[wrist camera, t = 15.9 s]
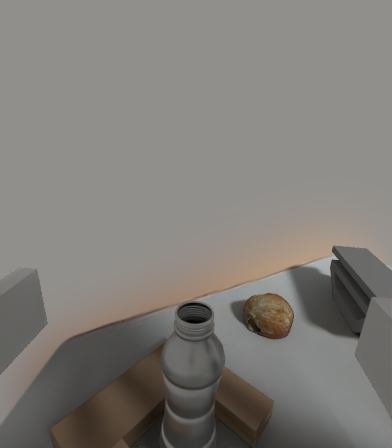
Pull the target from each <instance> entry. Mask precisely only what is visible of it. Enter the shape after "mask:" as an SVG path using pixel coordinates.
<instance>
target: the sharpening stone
mask: <svg viewBox="0 0 392 448" xmlns="http://www.w3.org/2000/svg"><path fill="white" fill-rule="evenodd" d="M332 252H333V253H334V254H335V256H336V257H337V258H338V260H332V261H331V266H330V271H331V281H332V291H333V299H334V301H335V302H336V304H337V306H338V308H339V309H340V311H341V313H342V315H343V316H344V318H345V320H346V322H347V323H348V325H349V327H350V328H351V330H352V332H355V333H361V331H362V328H363V324H364V321H365V318H366V314H367V311H368V308H369V304H370V301H371V298H372V297H381V298H392V271H391V270H390V269H389V268H388V267H387V266H386V265H385V264H383V263H382V262H381V261H380V260H379V259H378V258H377V257H376V256H374V255H373V254H372V253H371V252H370V251H369V250H368V249H364V248H353V247H342V246H333V249H332Z"/></svg>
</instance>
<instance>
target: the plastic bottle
mask: <svg viewBox="0 0 392 448" xmlns="http://www.w3.org/2000/svg"><path fill="white" fill-rule="evenodd" d="M174 330H175V331H174V332H173V333H172V334H171V336H170V337H169V338H168V339H167V341H166V342H165V344H164V347H163V350H162V353H161V368H162V373H163V379H164V385H165V402H166V405H165V412H164V419H163V422H162V425H161V430H160V435H159V446H160V448H216V443H217V435H216V426H215V412H214V406H215V400H216V395H217V389H218V386H219V383H220V379H221V376H222V373H223V369H224V365H225V354H224V350H223V346H222V344H221V342H220V340H219V339H218V337H217V336H216V335H215V334H214V312H213V309H212V308H211V307H210V306H209V305H207V304H205V303H202V302H197V301H191V302H186V303H183V304H181V305H180V306H178V308H177V309H176V312H175V322H174Z"/></svg>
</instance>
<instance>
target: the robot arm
mask: <svg viewBox="0 0 392 448" xmlns="http://www.w3.org/2000/svg"><path fill="white" fill-rule="evenodd" d="M46 325H47V318H46V313H45V308H44V303H43V297H42V292H41V287H40V282H39V277H38V271H37V269H30V268H18V269H17V270H16V271H14V272H12V273H11V274H9V275H8V276H6V277H5V278H3V279H2V280H0V374H1V373H2V372H3V371H4V370H5V369H6V368H7V367H8V366H9V365H10V363H11V362H12V361H13V360H14V359H15V358H16V357H17V356H18V355H19V354H20V353H21V352H22V351H23V350H24V348H25V347H26V346H27V345H28V344H29V343H30V342H31V341H32V340H33V339H34V338H35V337H36V335H37V334H38V333H39V332H40V331H41V330H42V329H43V328H44V327H45V326H46ZM355 357H356V358H357V360H358V362H359V363H360V365H361V367H362V369H363V370H364V372H365V374H366V375H367V377H368V379H369V381H370V382H371V384H372V386H373V387H374V389H375V391H376V393H377V394H378V396H379V398H380V399H381V401H382V403H383V405H384V406H385V408H386V410H387V411H388V413H389V415H390V417H391V418H392V298H381V297H372V298H371V301H370V304H369V308H368V311H367V314H366V318H365V321H364V324H363V328H362V331H361V335H360V338H359V341H358V345H357V348H356V351H355Z"/></svg>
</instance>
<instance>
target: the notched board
mask: <svg viewBox="0 0 392 448" xmlns="http://www.w3.org/2000/svg"><path fill="white" fill-rule="evenodd" d="M164 344H165V343H164ZM164 344H163V345H161V346H160V347H159V348H157V349H156V350H155V351H153V352H152V353H151V354H149V355H148V356H147V357H145V358H144V359H143V360H141V361H140V362H139V363H137V364H136V365H135V366H133V367H132V368H131V369H129V370H128V371H127V372H125V373H124V374H123V375H121V376H120V377H119V378H117V379H116V380H115V381H113V382H112V383H111V384H109V385H108V386H107V387H105V388H104V389H103V390H101V391H100V392H99V393H97V394H96V395H95V396H93V397H92V398H91V399H89V400H88V401H87V402H85V403H84V404H83V405H81V406H80V407H79V408H77V409H76V410H75V411H73V412H72V413H71V414H69V415H68V416H67V417H65V418H64V419H63V420H61V421H60V422H59V423H57V424H56V425H55V426H53V427H52V428H51V429H50V431H51V436H52V440H53V445H54V447H55V448H131V447H132V446H133V445H134V444H135V443H136V442H137V441H138V440H139V439H140V438H141V437H142V436H143V435H144V434H145V433H146V432H147V431H148V430H149V429H150V428H151V427H152V426H153V425H154V424H155V423H156V422H157V421H158V420H159V419H160V418H161V417H162V416H163V415H164V412H165V405H166V402H165V385H164V379H163V373H162V368H161V353H162V350H163V347H164ZM273 403H274V401H273V400H272V399H270V398H269V397H267V396H266V395H264V394H263V393H262V392H260V391H259V390H257V389H256V388H254V387H253V386H252V385H250V384H249V383H247V382H246V381H244V380H243V379H241V378H240V377H239V376H237V375H236V374H234V373H233V372H231V371H230V370H229V369H227V368H226V367H224V369H223V373H222V376H221V379H220V383H219V386H218V389H217V395H216V400H215V406H214V412H215V416H216V417H217V418H218V419H220V420H221V421H222V422H223V423H224V424H225V425H227V426H228V427H229V428H230V429H231V430H232V431H234V432H235V433H236V434H237V435H238V436H239V437H241V438H242V439H243V440H244V441H245V442H246V443H248V444H249V445H250V446H251V447H252V448H253V446H254V445H255V443H256V441H257V440H258V438H259V436H260V435H261V433H262V431H263V429H264V428H265V426H266V424H267V423H268V421H269V419H270V418H271V414H272V408H273Z"/></svg>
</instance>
